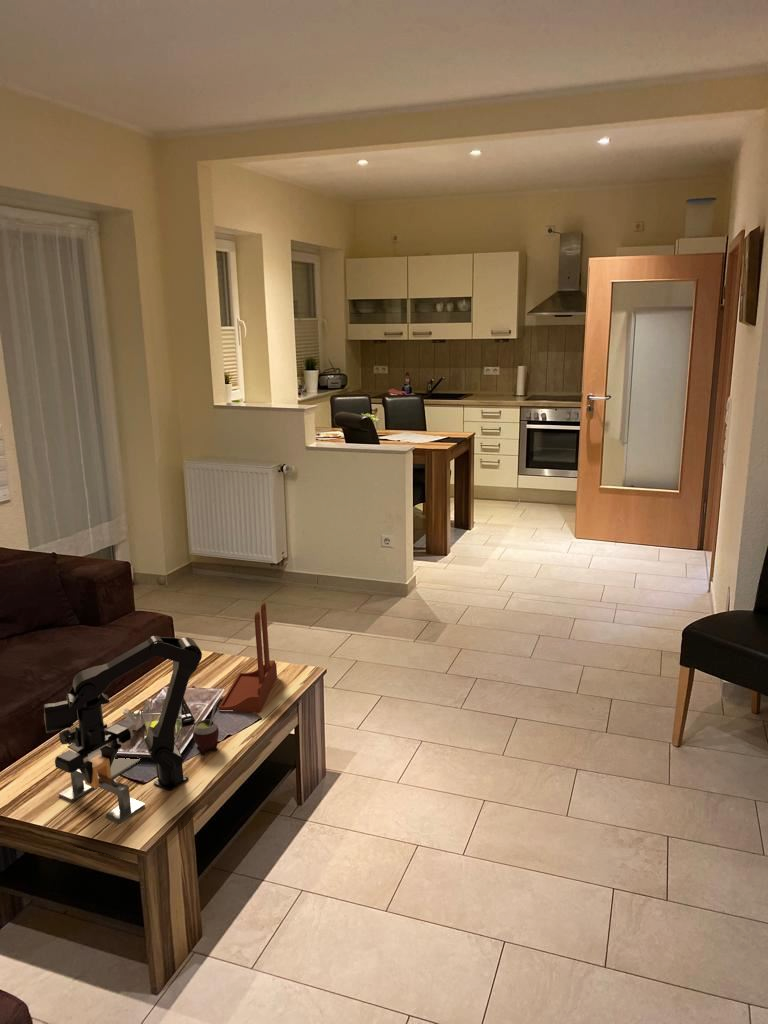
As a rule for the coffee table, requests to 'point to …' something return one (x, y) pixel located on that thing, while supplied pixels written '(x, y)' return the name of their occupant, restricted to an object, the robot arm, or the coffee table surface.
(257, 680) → the hanging shelf
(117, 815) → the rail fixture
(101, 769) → the orange link
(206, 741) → the mate gourd
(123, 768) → the slate mat
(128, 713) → the grey flat heart piece
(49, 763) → the coffee table surface
